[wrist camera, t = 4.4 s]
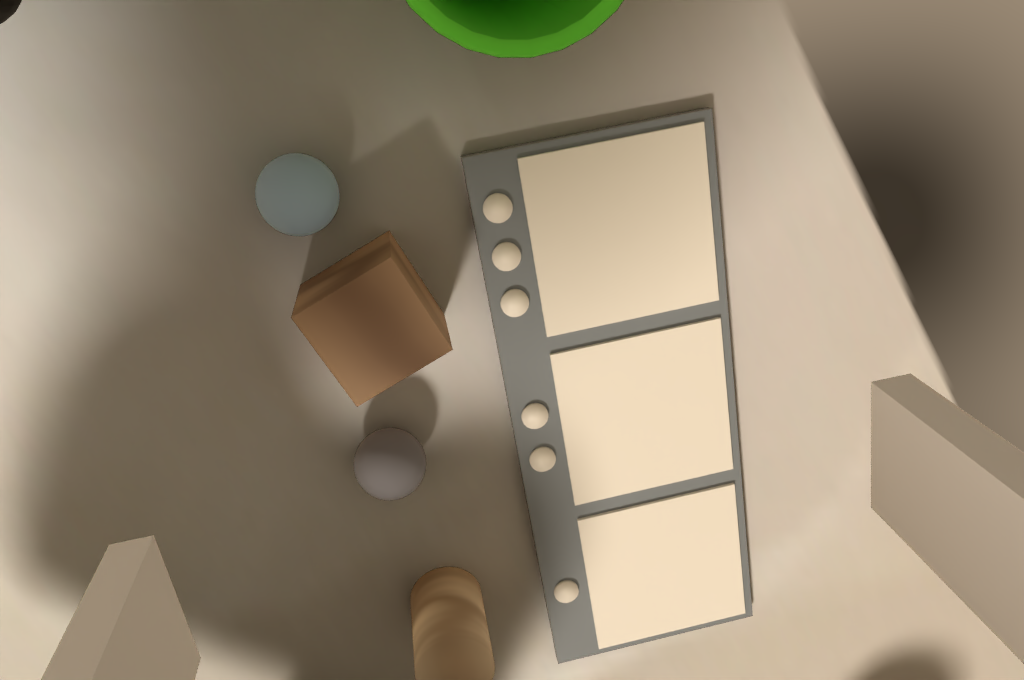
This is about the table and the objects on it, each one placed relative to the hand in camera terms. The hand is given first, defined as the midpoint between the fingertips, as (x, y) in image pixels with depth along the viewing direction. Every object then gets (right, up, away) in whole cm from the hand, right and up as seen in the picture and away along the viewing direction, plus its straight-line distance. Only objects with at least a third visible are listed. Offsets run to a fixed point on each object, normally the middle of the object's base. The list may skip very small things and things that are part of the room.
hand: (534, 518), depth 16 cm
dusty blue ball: (-10, +10, +24) cm, 28 cm away
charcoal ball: (-7, -2, +29) cm, 30 cm away
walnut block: (-7, +5, +26) cm, 28 cm away
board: (+6, -1, +30) cm, 31 cm away
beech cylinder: (-4, -11, +33) cm, 35 cm away
